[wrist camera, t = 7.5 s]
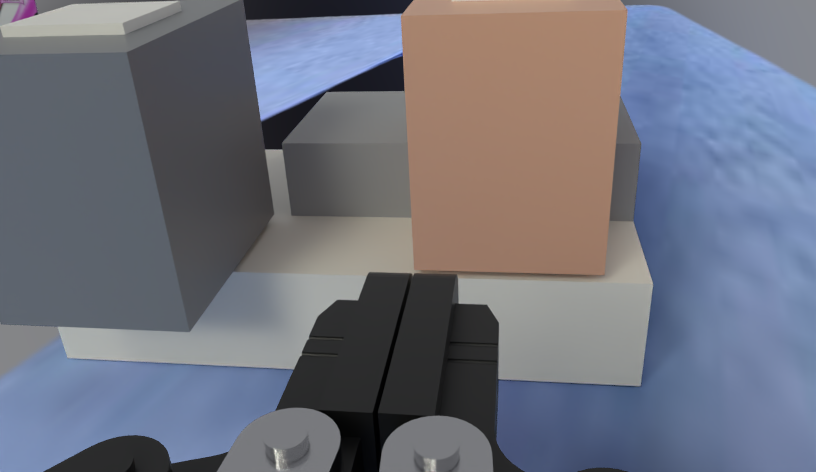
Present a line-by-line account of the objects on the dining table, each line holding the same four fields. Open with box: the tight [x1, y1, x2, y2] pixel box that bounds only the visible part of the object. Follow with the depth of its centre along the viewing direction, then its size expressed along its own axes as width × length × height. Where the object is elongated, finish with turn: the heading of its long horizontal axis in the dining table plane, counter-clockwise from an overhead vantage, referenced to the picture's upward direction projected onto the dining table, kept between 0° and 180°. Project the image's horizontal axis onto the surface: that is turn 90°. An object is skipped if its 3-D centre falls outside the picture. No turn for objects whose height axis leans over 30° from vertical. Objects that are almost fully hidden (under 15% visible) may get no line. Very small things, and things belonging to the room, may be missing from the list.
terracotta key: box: [401, 0, 627, 275], centre depth 24 cm, size 6×8×8 cm
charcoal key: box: [0, 0, 274, 332], centre depth 23 cm, size 6×8×8 cm
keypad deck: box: [58, 91, 653, 386], centre depth 29 cm, size 21×12×7 cm, turn 82°
